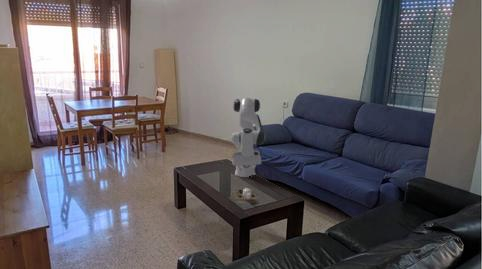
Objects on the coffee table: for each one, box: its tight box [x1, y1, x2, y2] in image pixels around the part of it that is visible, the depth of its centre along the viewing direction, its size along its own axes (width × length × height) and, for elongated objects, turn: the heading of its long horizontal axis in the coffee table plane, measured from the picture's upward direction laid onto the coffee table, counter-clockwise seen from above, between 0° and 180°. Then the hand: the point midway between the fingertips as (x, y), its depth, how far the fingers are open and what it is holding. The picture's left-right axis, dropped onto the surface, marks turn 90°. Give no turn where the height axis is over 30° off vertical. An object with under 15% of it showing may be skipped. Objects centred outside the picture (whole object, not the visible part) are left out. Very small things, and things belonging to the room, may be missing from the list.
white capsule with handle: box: [243, 187, 252, 201], centre depth 242 cm, size 10×6×7 cm, turn 10°
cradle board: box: [232, 188, 260, 204], centre depth 249 cm, size 22×16×3 cm
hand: (246, 170), depth 238 cm, fingers open, 8 cm apart
